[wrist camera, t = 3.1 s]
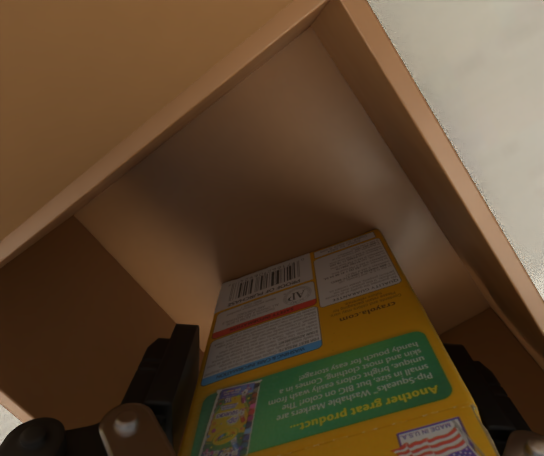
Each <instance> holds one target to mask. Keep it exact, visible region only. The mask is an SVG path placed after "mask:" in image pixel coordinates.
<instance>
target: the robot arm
mask: <svg viewBox="0 0 544 456" xmlns="http://www.w3.org/2000/svg"><path fill="white" fill-rule="evenodd" d="M442 344H443V346H444V347H445V349H446V351H447V353H448V355H449V356H450V358H451V360H452V362H453V363H454V365H455V367H456V369H457V371H458V372H459V374H460V376H461V378H462V380H463V382H464V383H465V385H466V387H467V389H468V391H469V392H470V394H471V396H472V398H473V400H474V402H475V404H476V406H477V408H478V412H479V415H480V418H481V421H482V424H483V425H484V427H485V428H486V429H487V430H488V433H489V434H490V436H491V438H492V440H493V441H494V444H495V446H496V448H497V451H498V453H499V455H500V456H544V436H542V435H540V434H538V433H535V432H532V431H531V429H530V428H529V426H528V425H527V423H526V422H525V420H524V419H523V417H522V416H521V414H520V413H519V411H518V410H517V408H516V407H515V405H514V404H513V402H512V401H511V399H510V398H509V397H508V396H507V393H506V392H505V390H504V389H503V387H501V384H500V383H499V381H498V380H497V378H496V377H495V375H494V374H493V372H492V371H490V370H489V369H488V368H487V367H486V366H484V365H483V364H482V363H481V362H480V361H473V360H472V358H471V356H470V355H469V353H468V352H467V350H466V349H465V347H464V346H463V345H462V344H452V343H442ZM198 374H199V325H190V324H176V325H175V328H174V330H173V332H172V335H171V337H170V339H169V338H158V339H157V340H155V341H154V342H153V343H152V344H151V345H150V346H148V347H147V350H146V352H145V354H144V356H143V358H142V361H141V362H140V364H139V366H138V370H137V371H136V373H135V375H134V377H133V379H132V381H131V383H130V385H129V387H128V389H127V392H126V394H125V396H124V398H123V400H122V402H121V404H120V405H119V406H117V407H114V408H113V409H111V410H110V411H109V412H107V413H106V414H105V415H104V417H103V418H102V420H101V422H99V423H97V424H94V425H91V426H86V427H81V428H76V429H71V430H65V428H64V425H63V424H62V423H61V422H60V421H59V420H57V419H54V418H49V417H42V418H36V419H32V420H30V421H27V422H25V423H23V424H21V425H19V426H18V427H16V428H15V429H14V430H12V431H11V432H10V433H9V434H8V435H7V437H6V438H5V439H4V441H3V442H2V444H1V445H0V456H177V454H178V450H179V447H180V443H181V439H182V436H183V432H184V428H185V425H186V421H187V417H188V413H189V410H190V406H191V402H192V399H193V395H194V391H195V388H196V384H197V380H198Z"/></svg>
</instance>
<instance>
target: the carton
mask: <svg viewBox="0 0 544 456" xmlns="http://www.w3.org/2000/svg"><path fill="white" fill-rule="evenodd" d="M373 229H378V230H380V231H381V233H382V234H383V236H384V238H385V240H386V242H387V244H388V246H389V247H390V249H391V251H392V253H393V255H394V256H395V258H396V260H397V262H398V264H399V266H400V267H401V269H402V271H403V273H404V274H405V276H406V278H407V280H408V282H409V283H410V285H411V287H412V289H413V290H414V293H415V294H416V296H417V298H418V299H419V301H420V303H421V305H422V306H423V308H424V310H425V312H426V314H427V316H428V318H429V320H430V322H431V323H432V325H433V327H434V329H435V330H436V332H437V334H438V336H439V338H440V340H441V342H442V343H452V344H462V345H463V346H464V347H465V349H466V350H467V352H468V353H469V355H470V356H471V358H472V360H473V361H480V362H481V363H482V364H483V365H484V366H486V367H487V368H488V369H489V370H490V371H492V372H493V374H494V375H495V377H496V378H497V380H498V381H499V383H500V384H501V387H503V389H504V390H505V392H506V393H507V396H508V397H509V398H510V399H511V401H512V402H513V404H514V405H515V407H516V408H517V410H518V411H519V413H520V414H521V416H522V417H523V419H524V420H525V422H526V423H527V425H528V426H529V428H530V429H531V431H532V432H535V433H538V434H540V435H542V436H544V301H543V299H542V297H541V296H540V294H539V292H538V290H537V289H536V287H535V285H534V284H533V282H532V280H531V279H530V277H529V275H528V273H527V272H526V270H525V268H524V267H523V265H522V263H521V262H520V260H519V258H518V256H517V255H516V253H515V251H514V250H513V248H512V246H511V245H510V243H509V241H508V239H507V238H506V236H505V234H504V233H503V231H502V229H501V228H500V226H499V224H498V222H497V221H496V219H495V217H494V216H493V214H492V212H491V211H490V209H489V207H488V205H487V204H486V202H485V200H484V199H483V197H482V195H481V194H480V192H479V190H478V188H477V187H476V185H475V183H474V182H473V180H472V178H471V177H470V175H469V173H468V171H467V170H466V168H465V166H464V165H463V163H462V161H461V160H460V158H459V156H458V154H457V153H456V151H455V149H454V148H453V146H452V144H451V143H450V141H449V139H448V137H447V136H446V134H445V132H444V131H443V129H442V127H441V126H440V124H439V122H438V120H437V119H436V117H435V115H434V114H433V112H432V110H431V109H430V107H429V105H428V103H427V102H426V100H425V98H424V97H423V95H422V93H421V92H420V90H419V88H418V86H417V85H416V83H415V81H414V80H413V78H412V76H411V75H410V73H409V71H408V69H407V68H406V66H405V64H404V63H403V61H402V59H401V58H400V56H399V54H398V52H397V51H396V49H395V47H394V46H393V44H392V42H391V41H390V39H389V37H388V35H387V34H386V32H385V30H384V29H383V27H382V25H381V24H380V22H379V20H378V18H377V17H376V15H375V13H374V12H373V10H372V8H371V7H370V5H369V3H368V1H367V0H294V1H292V2H291V3H290V4H289V5H288V6H286V7H285V8H284V9H283V10H281V11H280V12H279V13H278V14H277V15H275V16H274V17H273V18H272V19H271V20H269V21H268V22H267V23H266V24H264V25H263V26H262V27H261V28H260V29H258V30H257V31H256V32H255V33H253V34H252V35H251V36H250V37H249V38H247V39H246V40H245V41H244V42H243V43H241V44H240V45H239V46H238V47H236V48H235V49H234V50H233V51H232V52H230V53H229V54H228V55H227V56H225V57H224V58H223V59H222V60H221V61H219V62H218V63H217V64H216V65H215V66H213V67H212V68H211V69H210V70H208V71H207V72H206V73H205V74H204V75H202V76H201V77H200V78H199V79H197V80H196V81H195V82H194V83H193V84H191V85H190V86H189V87H188V88H187V89H185V90H184V91H183V92H182V93H180V94H179V95H178V96H177V97H176V98H174V99H173V100H172V101H171V102H169V103H168V104H167V105H166V106H165V107H163V108H162V109H161V110H160V111H159V112H157V113H156V114H155V115H154V116H152V117H151V118H150V119H149V120H148V121H146V122H145V123H144V124H143V125H142V126H140V127H139V128H138V129H137V130H135V131H134V132H133V133H132V134H131V135H129V136H128V137H127V138H126V139H124V140H123V141H122V142H121V143H120V144H118V145H117V146H116V147H115V148H114V149H112V150H111V151H110V152H109V153H107V154H106V155H105V156H104V157H103V158H101V159H100V160H99V161H98V162H96V163H95V164H94V165H93V166H92V167H90V168H89V169H88V170H87V171H86V172H84V173H83V174H82V175H81V176H79V177H78V178H77V179H76V180H75V181H73V182H72V183H71V184H70V185H68V186H67V187H66V188H65V189H64V190H62V191H61V192H60V193H59V194H58V195H56V196H55V197H54V198H53V199H51V200H50V201H49V202H48V203H47V204H45V205H44V206H43V207H42V208H41V209H39V210H38V211H37V212H36V213H34V214H33V215H32V216H31V217H30V218H28V219H27V220H26V221H25V222H23V223H22V224H21V225H20V226H19V227H17V228H16V229H15V230H14V231H13V232H11V233H10V234H9V235H8V236H6V237H5V238H4V239H3V240H2V241H0V404H1V405H2V406H3V407H5V408H6V409H7V410H8V411H9V412H11V413H12V414H13V415H14V416H15V417H17V418H18V419H19V420H20V421H21V422H23V423H25V422H27V421H30V420H32V419H36V418H42V417H49V418H54V419H57V420H59V421H60V422H61V423H62V424H63V425H64V428H65V430H71V429H76V428H81V427H86V426H91V425H94V424H97V423H99V422H101V420H102V418H103V417H104V415H105V414H106V413H107V412H109V411H110V410H111V409H113V408H114V407H117V406H119V405H120V404H121V402H122V400H123V398H124V396H125V394H126V392H127V389H128V387H129V385H130V383H131V381H132V379H133V377H134V375H135V373H136V371H137V370H138V366H139V364H140V362H141V361H142V358H143V356H144V354H145V352H146V350H147V347H148V346H150V345H151V344H152V343H153V342H154V341H155V340H157V339H158V338H169V339H170V337H171V335H172V332H173V330H174V328H175V325H176V324H190V325H199V373H200V369H201V364H202V360H203V356H204V352H205V348H206V344H207V340H208V337H209V333H210V329H211V326H212V322H213V318H214V312H215V308H216V304H217V300H218V297H219V293H220V289H221V286H222V284H223V283H225V282H228V281H231V280H236V279H238V278H241V277H243V276H246V275H249V274H252V273H254V272H257V271H260V270H263V269H266V268H268V267H271V266H274V265H276V264H279V263H282V262H285V261H288V260H291V259H293V258H296V257H299V256H302V255H305V254H308V253H311V252H314V251H317V250H319V249H322V248H326V247H328V246H331V245H333V244H337V243H339V242H342V241H345V240H347V239H350V238H354V237H356V236H359V235H362V234H364V233H365V232H368V231H370V230H373ZM198 376H199V374H198ZM196 385H197V384H196ZM193 396H194V395H193ZM192 400H193V399H192ZM191 403H192V402H191ZM190 408H191V406H190ZM189 412H190V410H189ZM188 416H189V413H188ZM187 420H188V417H187ZM186 424H187V421H186ZM185 428H186V425H185ZM185 428H184V431H185ZM183 435H184V432H183ZM182 439H183V436H182ZM182 439H181V443H182ZM181 443H180V447H181ZM180 447H179V450H178V454H177V456H178V455H179V451H180Z"/></svg>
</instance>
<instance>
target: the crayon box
mask: <svg viewBox="0 0 544 456" xmlns="http://www.w3.org/2000/svg"><path fill="white" fill-rule="evenodd" d="M178 456H500V455H499V453H498V451H497V448H496V446H495V444H494V441H493V440H492V438H491V436H490V434H489V433H488V430H487V429H486V428H485V427H484V425H483V424H482V421H481V418H480V415H479V412H478V408H477V406H476V404H475V402H474V400H473V398H472V396H471V394H470V392H469V391H468V389H467V387H466V385H465V383H464V382H463V380H462V378H461V376H460V374H459V372H458V371H457V369H456V367H455V365H454V363H453V362H452V360H451V358H450V356H449V355H448V353H447V351H446V349H445V347H444V346H443V344H442V342H441V340H440V338H439V336H438V334H437V332H436V330H435V329H434V327H433V325H432V323H431V322H430V320H429V318H428V316H427V314H426V312H425V310H424V308H423V306H422V305H421V303H420V301H419V299H418V298H417V296H416V294H415V293H414V290H413V289H412V287H411V285H410V283H409V282H408V280H407V278H406V276H405V274H404V273H403V271H402V269H401V267H400V266H399V264H398V262H397V260H396V258H395V256H394V255H393V253H392V251H391V249H390V247H389V246H388V244H387V242H386V240H385V238H384V236H383V234H382V233H381V231H380V230H378V229H373V230H370V231H368V232H365V233H364V234H362V235H359V236H356V237H354V238H350V239H347V240H345V241H342V242H339V243H337V244H333V245H331V246H328V247H326V248H322V249H319V250H317V251H314V252H311V253H308V254H305V255H302V256H299V257H296V258H293V259H291V260H288V261H285V262H282V263H279V264H276V265H274V266H271V267H268V268H266V269H263V270H260V271H257V272H254V273H252V274H249V275H246V276H243V277H241V278H238V279H236V280H231V281H228V282H225V283H223V284H222V286H221V289H220V293H219V297H218V300H217V304H216V308H215V312H214V318H213V322H212V326H211V329H210V333H209V337H208V340H207V344H206V348H205V352H204V356H203V360H202V364H201V369H200V373H199V376H198V380H197V385H196V388H195V391H194V396H193V400H192V403H191V408H190V412H189V416H188V420H187V424H186V428H185V431H184V435H183V439H182V443H181V447H180V451H179V455H178Z"/></svg>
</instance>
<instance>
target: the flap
mask: <svg viewBox="0 0 544 456" xmlns="http://www.w3.org/2000/svg"><path fill="white" fill-rule="evenodd" d="M292 1H294V0H0V241H2V240H3V239H4V238H5V237H6V236H8V235H9V234H10V233H11V232H13V231H14V230H15V229H16V228H17V227H19V226H20V225H21V224H22V223H23V222H25V221H26V220H27V219H28V218H30V217H31V216H32V215H33V214H34V213H36V212H37V211H38V210H39V209H41V208H42V207H43V206H44V205H45V204H47V203H48V202H49V201H50V200H51V199H53V198H54V197H55V196H56V195H58V194H59V193H60V192H61V191H62V190H64V189H65V188H66V187H67V186H68V185H70V184H71V183H72V182H73V181H75V180H76V179H77V178H78V177H79V176H81V175H82V174H83V173H84V172H86V171H87V170H88V169H89V168H90V167H92V166H93V165H94V164H95V163H96V162H98V161H99V160H100V159H101V158H103V157H104V156H105V155H106V154H107V153H109V152H110V151H111V150H112V149H114V148H115V147H116V146H117V145H118V144H120V143H121V142H122V141H123V140H124V139H126V138H127V137H128V136H129V135H131V134H132V133H133V132H134V131H135V130H137V129H138V128H139V127H140V126H142V125H143V124H144V123H145V122H146V121H148V120H149V119H150V118H151V117H152V116H154V115H155V114H156V113H157V112H159V111H160V110H161V109H162V108H163V107H165V106H166V105H167V104H168V103H169V102H171V101H172V100H173V99H174V98H176V97H177V96H178V95H179V94H180V93H182V92H183V91H184V90H185V89H187V88H188V87H189V86H190V85H191V84H193V83H194V82H195V81H196V80H197V79H199V78H200V77H201V76H202V75H204V74H205V73H206V72H207V71H208V70H210V69H211V68H212V67H213V66H215V65H216V64H217V63H218V62H219V61H221V60H222V59H223V58H224V57H225V56H227V55H228V54H229V53H230V52H232V51H233V50H234V49H235V48H236V47H238V46H239V45H240V44H241V43H243V42H244V41H245V40H246V39H247V38H249V37H250V36H251V35H252V34H253V33H255V32H256V31H257V30H258V29H260V28H261V27H262V26H263V25H264V24H266V23H267V22H268V21H269V20H271V19H272V18H273V17H274V16H275V15H277V14H278V13H279V12H280V11H281V10H283V9H284V8H285V7H286V6H288V5H289V4H290V3H291V2H292Z"/></svg>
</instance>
